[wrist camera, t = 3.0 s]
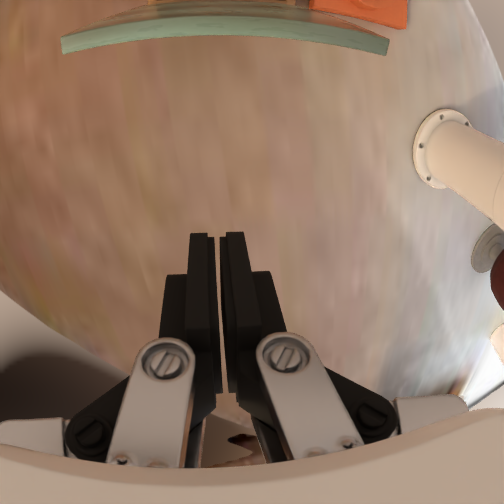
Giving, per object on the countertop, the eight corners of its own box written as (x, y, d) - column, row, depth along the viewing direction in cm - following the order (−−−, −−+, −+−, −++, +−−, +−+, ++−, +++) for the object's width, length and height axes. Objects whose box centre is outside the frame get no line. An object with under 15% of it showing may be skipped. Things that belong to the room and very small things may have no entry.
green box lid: (59, 37, 8) (61, 55, 8) (390, 39, 9) (386, 56, 10) (146, 4, 18) (146, 12, 19) (296, 5, 20) (295, 13, 20)
